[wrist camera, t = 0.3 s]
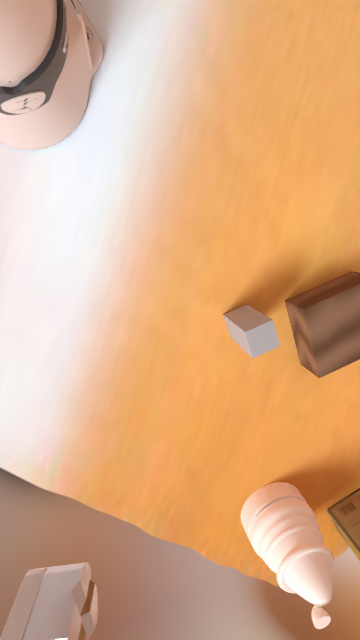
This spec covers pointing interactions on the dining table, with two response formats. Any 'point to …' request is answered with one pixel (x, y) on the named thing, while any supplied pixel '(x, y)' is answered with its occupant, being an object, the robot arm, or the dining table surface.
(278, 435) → the dining table surface
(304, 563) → the honey pot
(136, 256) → the dining table surface
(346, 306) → the walnut slab
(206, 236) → the dining table surface
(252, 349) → the slate block
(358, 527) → the food packaging
